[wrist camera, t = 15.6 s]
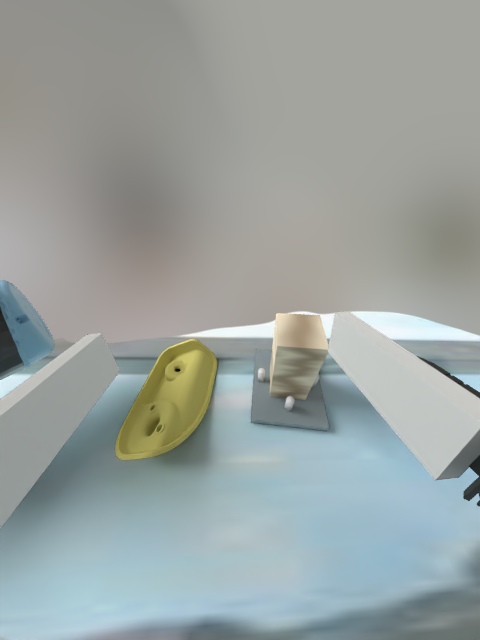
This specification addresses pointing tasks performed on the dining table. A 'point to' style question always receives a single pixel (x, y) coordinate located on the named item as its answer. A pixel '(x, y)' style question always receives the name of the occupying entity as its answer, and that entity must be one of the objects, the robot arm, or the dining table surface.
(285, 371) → the birch block
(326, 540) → the dining table surface
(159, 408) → the plastic component
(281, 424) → the pin plate
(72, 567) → the dining table surface
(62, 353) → the robot arm
